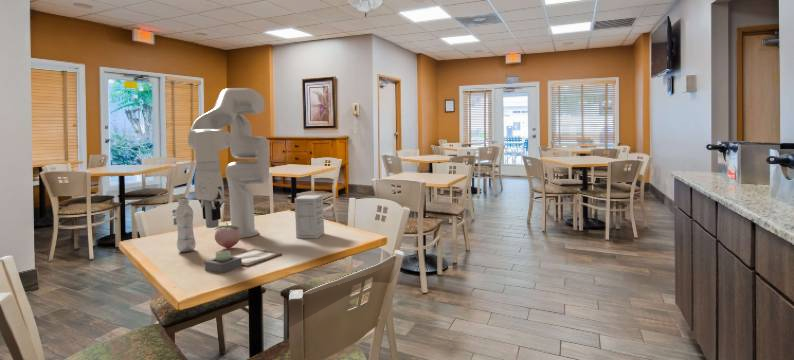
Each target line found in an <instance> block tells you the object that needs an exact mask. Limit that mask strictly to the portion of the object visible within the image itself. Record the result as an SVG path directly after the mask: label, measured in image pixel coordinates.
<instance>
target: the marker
mask: <svg viewBox="0 0 794 360" xmlns="http://www.w3.org/2000/svg"><path fill="white" fill-rule="evenodd" d="M216 199H217V198H216ZM216 202H217V201H215V204H216ZM204 203H205V216H206V219H205V227H206V228H207V229H213V228H214V229H216V228H217V227H219V226H220V225H219V220H215V221H213V220H212V211H211V209H213V207H212V202H211V201H207V200H204Z"/></svg>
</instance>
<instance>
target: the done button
mask: <svg viewBox="0 0 794 360" xmlns="http://www.w3.org/2000/svg"><path fill="white" fill-rule="evenodd" d="M230 256H231V251H230V250H228V249H226V250H219V251H216V252H215V258H216V261H218V262H223V261H228V260H230Z"/></svg>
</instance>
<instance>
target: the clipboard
mask: <svg viewBox="0 0 794 360" xmlns="http://www.w3.org/2000/svg"><path fill="white" fill-rule="evenodd" d="M282 254H283V253H281V252H275V251H273V250H270V249H264V248H261V249H257V248H252V249H250V250H246V251H243V252H238V253H236V254H233V255H232V256H233V257H238V258H241V260H242V268H243V267H245V268H249V267H251V266H255V265H259V264H261V263H263V262H266V261H269V260H272V259H275V258H277V257H281V256H282Z"/></svg>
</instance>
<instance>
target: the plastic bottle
mask: <svg viewBox="0 0 794 360" xmlns="http://www.w3.org/2000/svg"><path fill="white" fill-rule="evenodd" d="M189 203H190V202H189V198H188V197H181V198H180V197H179V198H177V204H178V206H177V207H176V209H175V212H174V217H175V221H176V227H177V240H176V247H177V250H178V252H183V253H184V252H186V253H189V252H192V251H194V250H195V249H196V246H197V243H196V238H195V235H194V223H193V221H194V209H193V208H192V207H191V206H190V205H189Z"/></svg>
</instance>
